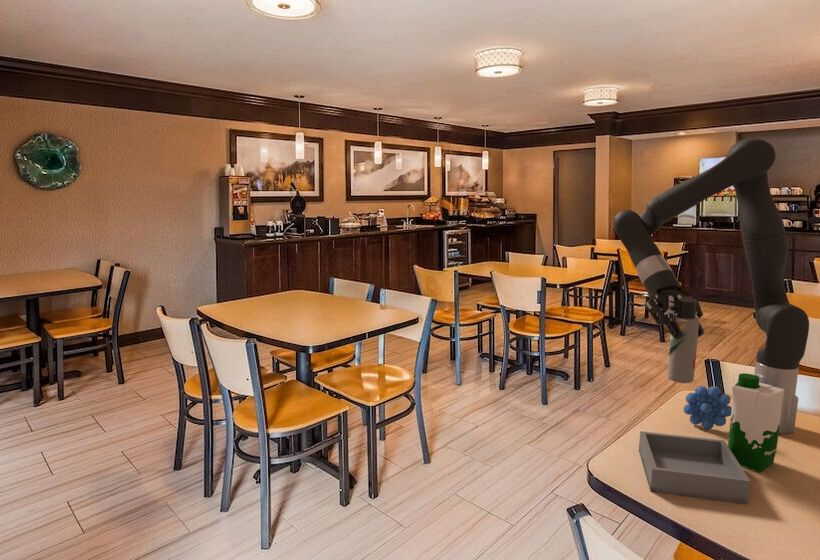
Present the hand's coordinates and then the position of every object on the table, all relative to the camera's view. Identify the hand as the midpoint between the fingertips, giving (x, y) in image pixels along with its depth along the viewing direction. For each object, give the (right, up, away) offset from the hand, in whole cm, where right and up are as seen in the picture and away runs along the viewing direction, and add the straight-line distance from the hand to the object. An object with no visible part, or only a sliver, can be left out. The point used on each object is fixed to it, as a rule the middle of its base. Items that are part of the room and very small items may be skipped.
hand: (689, 336), depth 127 cm
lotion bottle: (0, -11, +4) cm, 12 cm away
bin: (-4, -30, -7) cm, 31 cm away
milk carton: (+13, -29, -2) cm, 32 cm away
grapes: (+13, -26, +16) cm, 33 cm away
